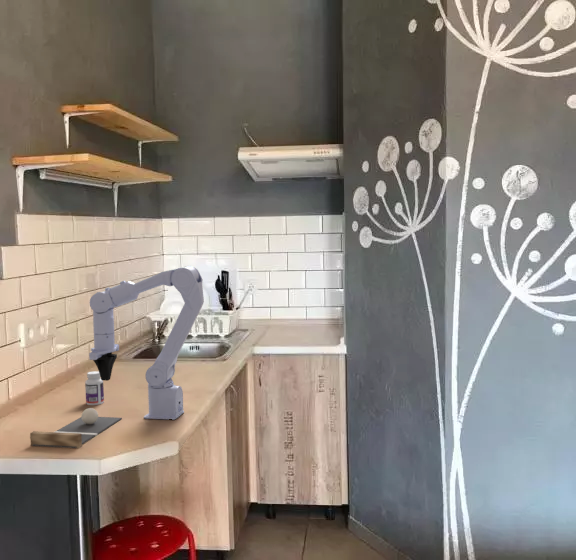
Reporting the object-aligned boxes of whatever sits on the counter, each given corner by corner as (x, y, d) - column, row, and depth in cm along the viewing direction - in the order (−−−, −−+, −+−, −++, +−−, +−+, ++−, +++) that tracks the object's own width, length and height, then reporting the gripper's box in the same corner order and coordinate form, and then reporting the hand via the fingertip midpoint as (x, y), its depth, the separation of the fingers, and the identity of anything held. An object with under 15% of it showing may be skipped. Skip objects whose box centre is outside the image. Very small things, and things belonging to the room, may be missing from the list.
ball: (101, 422, 179) (100, 406, 178) (93, 426, 174) (93, 410, 174) (86, 421, 180) (86, 405, 179) (78, 426, 175) (78, 410, 175)
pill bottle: (97, 400, 204) (96, 370, 204) (107, 402, 201) (106, 372, 200) (82, 403, 200) (81, 373, 199) (92, 406, 197) (91, 375, 196)
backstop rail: (81, 446, 160) (81, 433, 159) (78, 448, 158) (78, 435, 158) (34, 443, 162) (33, 431, 162) (30, 445, 161) (30, 433, 160)
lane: (121, 419, 183) (121, 417, 183) (76, 448, 158) (76, 446, 158) (82, 417, 185) (82, 416, 185) (32, 445, 161) (32, 444, 161)
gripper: (103, 329, 193) (104, 374, 194) (78, 337, 179) (80, 385, 180) (125, 329, 192) (126, 374, 193) (102, 337, 177) (103, 386, 178)
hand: (105, 379), depth 186 cm, fingers closed
